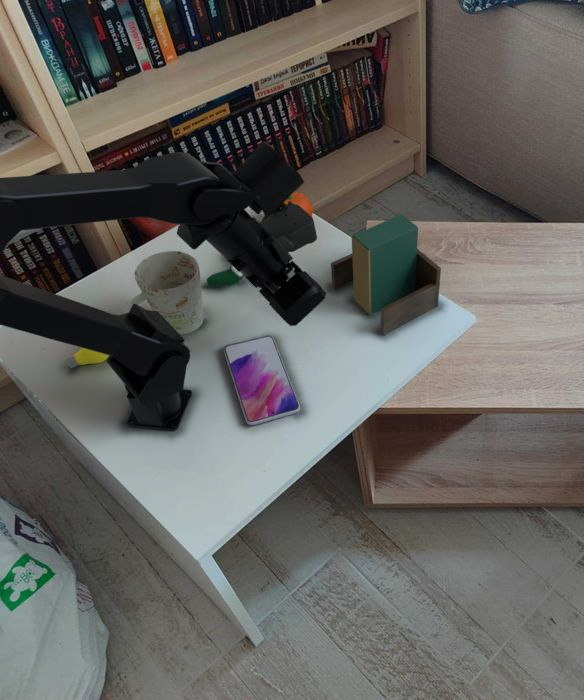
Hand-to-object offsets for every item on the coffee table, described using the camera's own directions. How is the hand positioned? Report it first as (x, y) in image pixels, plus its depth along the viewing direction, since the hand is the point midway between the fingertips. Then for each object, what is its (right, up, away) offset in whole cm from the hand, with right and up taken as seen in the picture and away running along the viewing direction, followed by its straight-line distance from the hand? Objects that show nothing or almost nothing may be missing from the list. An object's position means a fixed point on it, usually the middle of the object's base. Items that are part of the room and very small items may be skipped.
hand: (296, 297), depth 95 cm
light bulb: (-29, -7, -2) cm, 30 cm away
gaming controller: (-13, +5, +13) cm, 19 cm away
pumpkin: (-7, +13, +22) cm, 26 cm away
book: (+11, +1, +12) cm, 17 cm away
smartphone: (-5, -12, -1) cm, 13 cm away
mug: (-19, -5, +4) cm, 20 cm away
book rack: (+11, +1, +12) cm, 17 cm away
